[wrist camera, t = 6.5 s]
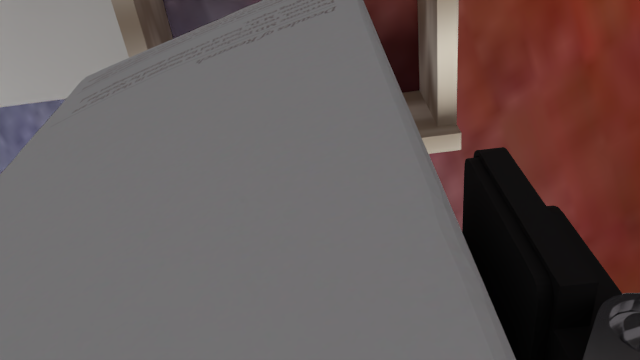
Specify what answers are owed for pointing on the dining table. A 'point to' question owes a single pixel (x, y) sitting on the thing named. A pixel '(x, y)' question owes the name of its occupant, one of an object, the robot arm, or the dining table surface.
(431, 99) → the cold frame
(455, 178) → the dining table surface
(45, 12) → the mat
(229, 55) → the supplement box
